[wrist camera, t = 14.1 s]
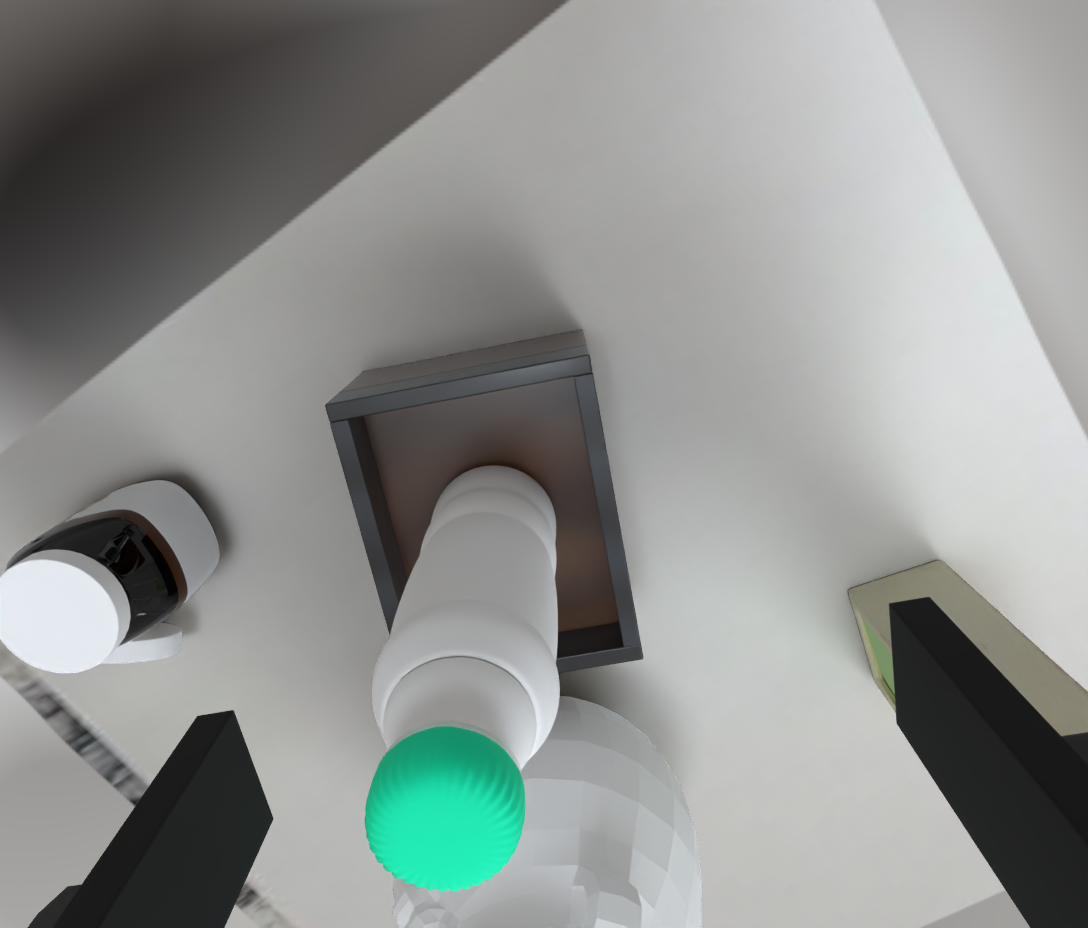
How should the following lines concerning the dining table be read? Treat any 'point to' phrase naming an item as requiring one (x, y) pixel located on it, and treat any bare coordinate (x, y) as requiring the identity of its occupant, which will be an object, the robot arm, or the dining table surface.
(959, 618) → the beige rectangular block
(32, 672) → the dining table surface
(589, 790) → the white vase
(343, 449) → the open rectangular box
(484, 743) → the water bottle
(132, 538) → the spread jar
